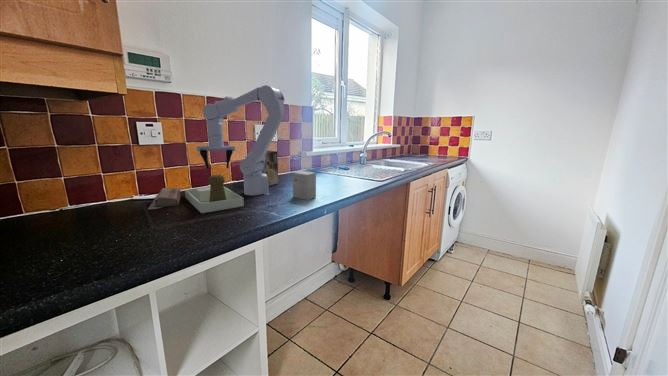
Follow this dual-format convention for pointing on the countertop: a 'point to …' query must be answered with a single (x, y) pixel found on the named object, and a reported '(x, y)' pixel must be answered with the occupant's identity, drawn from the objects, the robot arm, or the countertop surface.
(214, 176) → the brown rounded lobed piece
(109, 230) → the countertop surface
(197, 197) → the white box
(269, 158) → the coffee box
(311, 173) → the small box
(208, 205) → the box
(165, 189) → the packaged product
